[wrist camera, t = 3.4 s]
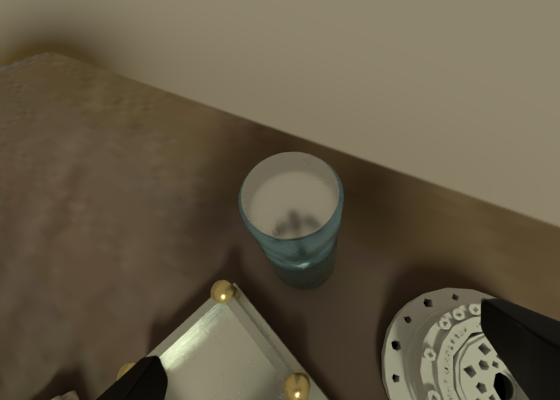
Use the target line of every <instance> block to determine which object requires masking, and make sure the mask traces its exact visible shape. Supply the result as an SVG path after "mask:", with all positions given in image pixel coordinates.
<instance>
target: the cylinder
mask: <svg viewBox="0 0 560 400" xmlns="http://www.w3.org/2000/svg"><path fill="white" fill-rule="evenodd" d="M343 201H344V192H343V186H342V183H341V180H340V178H339V176H338V175H337V173H336V172H335V170H334V169H333V168H332V167H331V166H330V165H329V164H327V163H326V162H325V161H323V160H322V159H320V158H318V157H316V156H313V155H310V154H307V153H302V152H284V153H279V154H276V155H273V156H271V157H268V158H266V159H265V160H263V161H262V162H260V163H259V164H258V165H256V166H255V167H254V168H253V169H252V170H251V171H250V173H249V174H248V175H247V177H246V178H245V180H244V182H243V184H242V186H241V189H240V193H239V201H238V203H239V210H240V214H241V217H242V219H243V221H244V223H245V224H246V226H247V228H248V229H249V231H250V232H251V234H252V235H253V237H254V238H255V240H256V241H257V243H258V244H259V246H260V247H261V249H262V251H263V252H264V254H265V255H266V257H267V258H268V260H269V261H270V263H271V264H272V266H273V267H274V269H275V270H276V272H277V274H278V275H279V277H280V278H281V279H282V280H283V281H284V282H285V283H286V284H288V285H289V286H291V287H294V288H297V289H312V288H315V287H317V286H319V285H321V284H322V283H324V282H325V281H326V280H327V279H328V277H329V276H330V274H331V272H332V270H333V267H334V260H335V254H336V247H337V240H338V234H339V227H340V221H341V214H342V207H343Z"/></svg>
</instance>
